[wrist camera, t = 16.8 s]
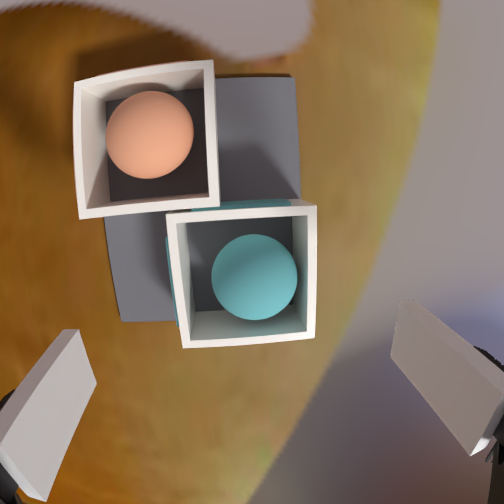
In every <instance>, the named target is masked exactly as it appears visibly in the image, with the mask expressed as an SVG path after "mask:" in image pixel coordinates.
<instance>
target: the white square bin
mask: <svg viewBox="0 0 504 504" xmlns="http://www.w3.org/2000/svg"><path fill="white" fill-rule="evenodd" d="M283 216H292V231H293V259H294V262H295V265H296V268H297V286H296V290H295V293H294V295H293V305H287V306H286V307H285V308H284V309H283V310H281V311H280V312H279V313H277V314H276V315H274V316H272V317H269V318H266V319H261V320H247V319H243V318H240V317H237V316H235V315H233V314H232V313H230V312H229V311H227V310H217V311H200V312H196V311H195V303H194V295H193V286H192V277H191V268H190V258H189V248H188V237H187V226H186V223H187V222H201V221H215V220H230V219H247V218H264V217H283ZM166 223H167V234H168V236H167V237H166V238H165V239H166V249H167V257H168V266H169V274H170V281H171V289H172V296H173V303H174V310H175V316H176V323H177V327H180V333H181V339H182V345H183V348H200V347H219V346H235V345H248V344H260V343H271V342H281V341H291V340H300V339H308V338H315V316H316V279H317V205H314V204H312V203H309V202H306V201H304V200H301V199H284V198H282V199H260V200H242V201H225V202H220V206H219V207H205V208H191V209H179V210H171V211H170V212H168V213H167V214H166Z"/></svg>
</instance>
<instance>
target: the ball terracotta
mask: <svg viewBox="0 0 504 504" xmlns="http://www.w3.org/2000/svg"><path fill="white" fill-rule="evenodd" d="M193 138H194V127H193V122H192V118H191V116H190V113H189V112H188V110H187V109H186V107H185V106H184V105H183V104H182V103H181V102H180V101H179V100H178V99H176V98H175V97H173V96H171V95H169V94H167V93H164V92H158V91H146V92H141V93H138V94H135V95H133V96H131V97H129V98H127V99H126V100H124V101H123V102H122V103H121V104H120V105H119V106H118V107H117V108H116V109H115V111H114V112H113V114H112V115H111V117H110V119H109V121H108V124H107V128H106V135H105V139H106V147H107V150H108V153H109V156H110V158H111V159H112V161H113V162H114V163H115V165H116V166H117V167H118V168H119V169H120V170H122V171H123V172H125V173H127V174H128V175H131V176H133V177H137V178H143V179H152V178H158V177H161V176H164V175H166V174H168V173H170V172H172V171H173V170H174V169H176V168H177V167H178V166H179V165H180V164H181V163H182V162H183V161H184V160H185V158H186V157H187V155H188V153H189V151H190V149H191V146H192V143H193Z"/></svg>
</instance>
